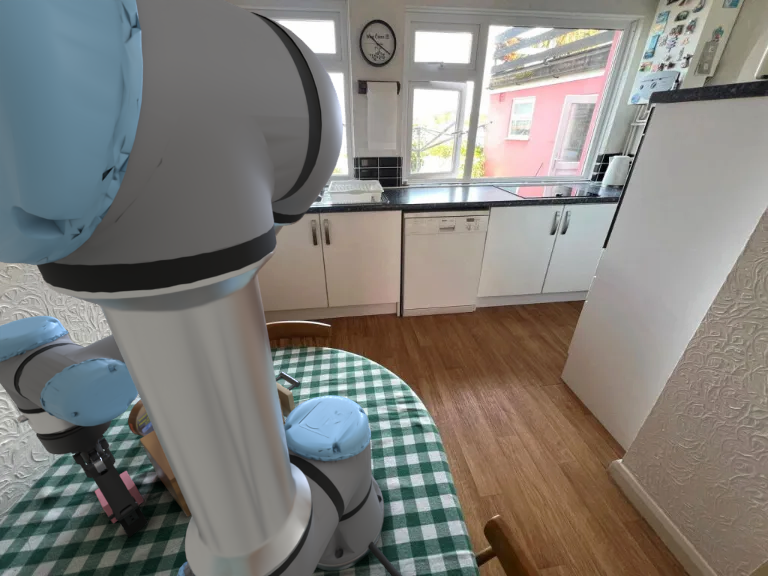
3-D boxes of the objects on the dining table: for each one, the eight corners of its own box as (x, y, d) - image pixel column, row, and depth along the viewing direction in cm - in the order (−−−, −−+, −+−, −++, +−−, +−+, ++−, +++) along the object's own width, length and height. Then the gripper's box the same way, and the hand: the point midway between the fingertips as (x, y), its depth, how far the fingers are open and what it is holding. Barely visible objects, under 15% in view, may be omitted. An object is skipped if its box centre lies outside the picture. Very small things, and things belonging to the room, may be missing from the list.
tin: (146, 445, 66) (131, 416, 62) (133, 443, 66) (118, 414, 62) (198, 394, 79) (188, 367, 75) (187, 392, 79) (177, 366, 76)
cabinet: (230, 423, 70) (220, 390, 66) (264, 453, 64) (254, 418, 59) (157, 474, 60) (139, 439, 56) (187, 517, 53) (170, 480, 49)
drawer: (280, 386, 79) (275, 362, 76) (311, 407, 73) (307, 381, 70) (211, 435, 67) (201, 407, 63) (241, 465, 60) (232, 436, 57)
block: (144, 501, 55) (135, 485, 53) (113, 523, 52) (102, 507, 50) (134, 486, 58) (126, 470, 56) (104, 507, 55) (94, 491, 53)
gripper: (18, 393, 50) (76, 478, 59) (55, 486, 36) (122, 577, 45) (79, 368, 55) (123, 449, 64) (131, 441, 42) (177, 530, 51)
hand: (123, 502), depth 55 cm, fingers open, 13 cm apart
